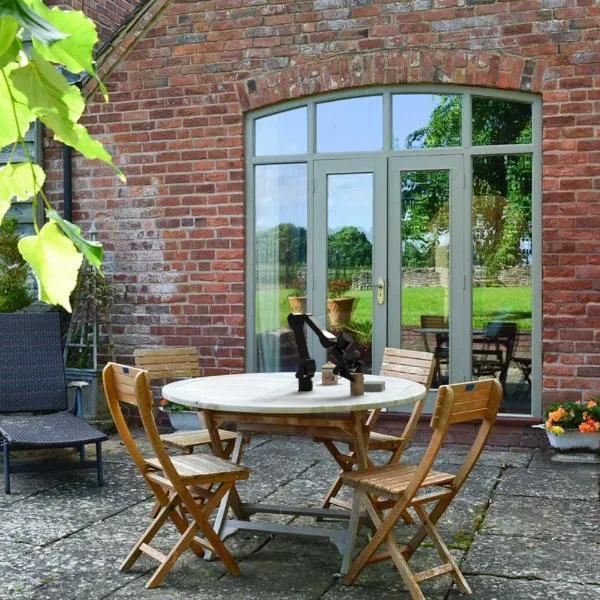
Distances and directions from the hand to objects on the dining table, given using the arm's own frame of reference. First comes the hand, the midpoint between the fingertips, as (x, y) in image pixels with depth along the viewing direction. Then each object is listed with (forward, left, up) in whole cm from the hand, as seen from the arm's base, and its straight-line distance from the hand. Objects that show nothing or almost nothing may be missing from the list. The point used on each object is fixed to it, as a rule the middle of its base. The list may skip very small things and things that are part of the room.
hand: (358, 381), depth 397 cm
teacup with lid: (-22, +48, -7) cm, 53 cm away
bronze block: (-1, +1, -7) cm, 7 cm away
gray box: (+3, +20, -7) cm, 21 cm away
